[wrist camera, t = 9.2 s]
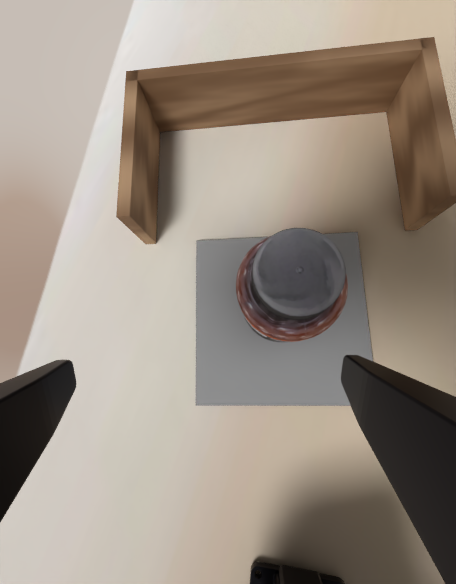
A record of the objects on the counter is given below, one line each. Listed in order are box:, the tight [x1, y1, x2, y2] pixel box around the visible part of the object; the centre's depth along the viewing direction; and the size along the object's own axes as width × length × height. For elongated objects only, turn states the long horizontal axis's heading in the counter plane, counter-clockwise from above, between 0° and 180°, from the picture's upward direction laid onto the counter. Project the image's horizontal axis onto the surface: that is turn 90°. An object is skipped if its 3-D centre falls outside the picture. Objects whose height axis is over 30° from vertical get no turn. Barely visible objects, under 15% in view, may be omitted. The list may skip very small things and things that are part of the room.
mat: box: [196, 232, 373, 406], centre depth 23 cm, size 14×14×1 cm
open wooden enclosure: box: [116, 37, 456, 244], centre depth 23 cm, size 13×24×6 cm, turn 91°
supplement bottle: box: [236, 228, 348, 342], centre depth 17 cm, size 6×6×11 cm
